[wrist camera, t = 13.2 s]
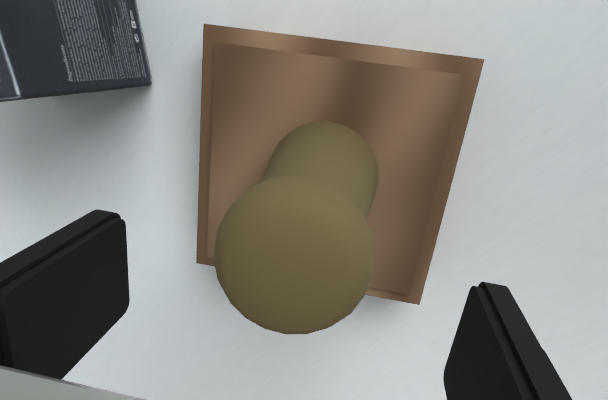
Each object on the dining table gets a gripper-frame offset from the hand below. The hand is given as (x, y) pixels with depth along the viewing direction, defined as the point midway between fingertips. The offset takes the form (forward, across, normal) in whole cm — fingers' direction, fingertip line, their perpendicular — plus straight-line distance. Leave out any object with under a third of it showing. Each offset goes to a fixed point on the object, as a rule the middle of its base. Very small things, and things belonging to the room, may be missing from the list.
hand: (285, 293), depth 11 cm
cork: (+12, 0, 0) cm, 12 cm away
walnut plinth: (+16, +1, 0) cm, 16 cm away
